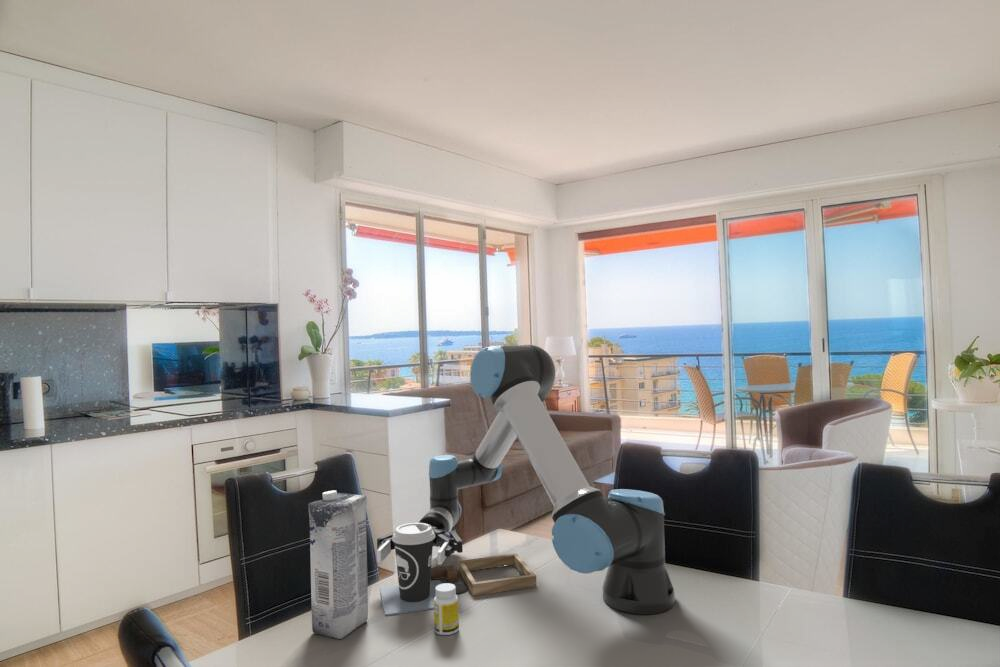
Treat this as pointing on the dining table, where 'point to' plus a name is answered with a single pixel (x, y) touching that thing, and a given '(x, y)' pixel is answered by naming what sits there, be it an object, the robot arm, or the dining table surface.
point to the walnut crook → (444, 572)
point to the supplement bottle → (446, 609)
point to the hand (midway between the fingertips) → (408, 557)
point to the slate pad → (398, 606)
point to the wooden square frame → (497, 584)
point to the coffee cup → (414, 560)
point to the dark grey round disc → (460, 588)
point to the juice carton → (338, 563)
